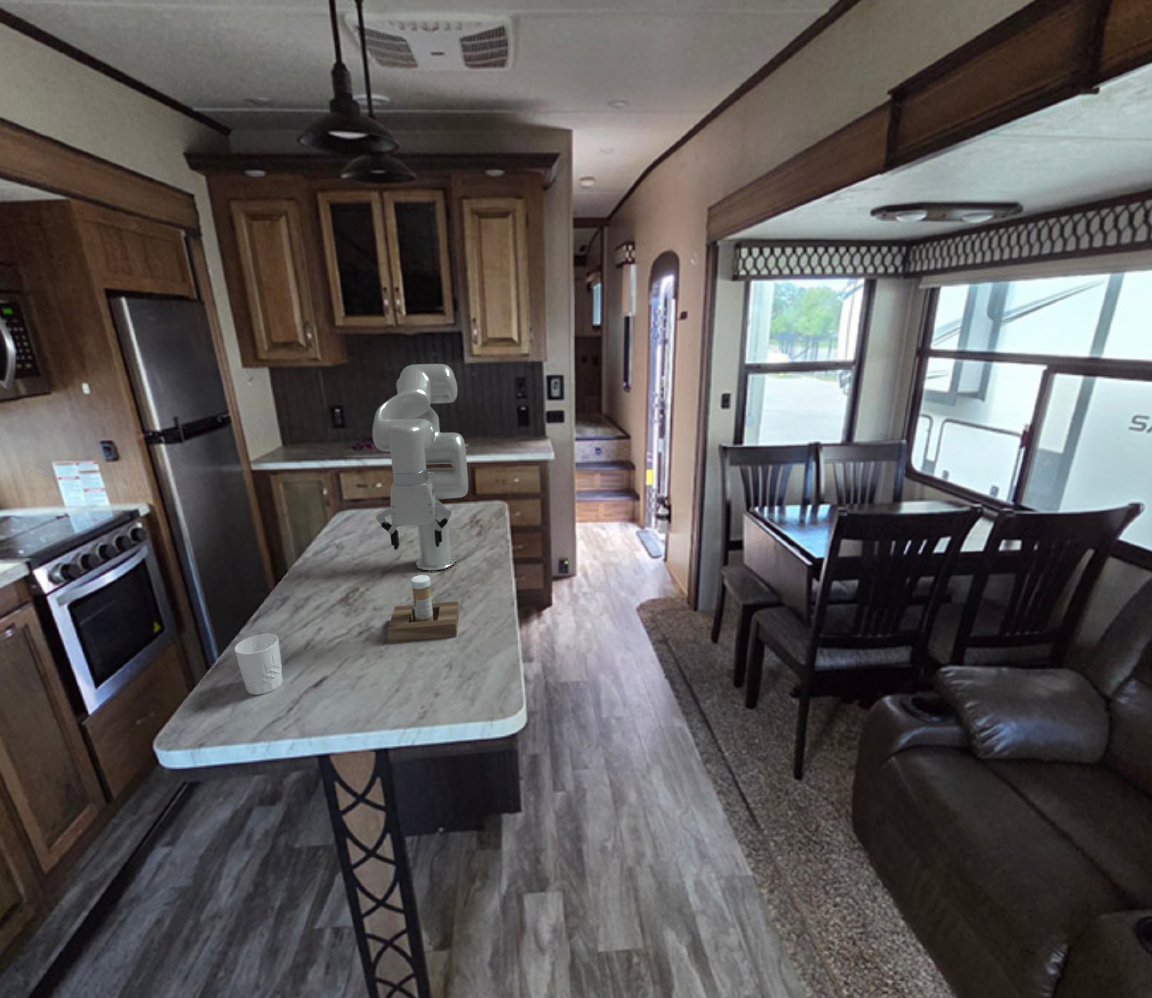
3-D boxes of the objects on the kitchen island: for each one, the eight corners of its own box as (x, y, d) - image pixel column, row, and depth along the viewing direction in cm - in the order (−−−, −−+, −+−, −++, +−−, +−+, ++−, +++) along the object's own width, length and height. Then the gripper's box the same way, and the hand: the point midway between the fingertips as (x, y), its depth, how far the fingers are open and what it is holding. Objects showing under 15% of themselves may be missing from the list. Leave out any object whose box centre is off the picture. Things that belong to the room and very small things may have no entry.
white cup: (238, 700, 110) (229, 656, 107) (249, 677, 117) (241, 636, 114) (281, 692, 112) (273, 650, 109) (289, 671, 119) (282, 631, 116)
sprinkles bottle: (417, 623, 139) (412, 574, 135) (435, 621, 139) (431, 573, 135) (414, 632, 134) (408, 582, 131) (433, 630, 135) (428, 581, 131)
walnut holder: (396, 618, 141) (395, 606, 140) (459, 613, 144) (458, 601, 143) (388, 642, 130) (387, 629, 129) (456, 636, 132) (455, 623, 131)
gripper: (449, 472, 131) (454, 538, 136) (375, 475, 128) (383, 543, 133) (447, 479, 124) (453, 549, 128) (368, 483, 121) (377, 554, 126)
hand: (417, 546), depth 131 cm, fingers open, 9 cm apart
